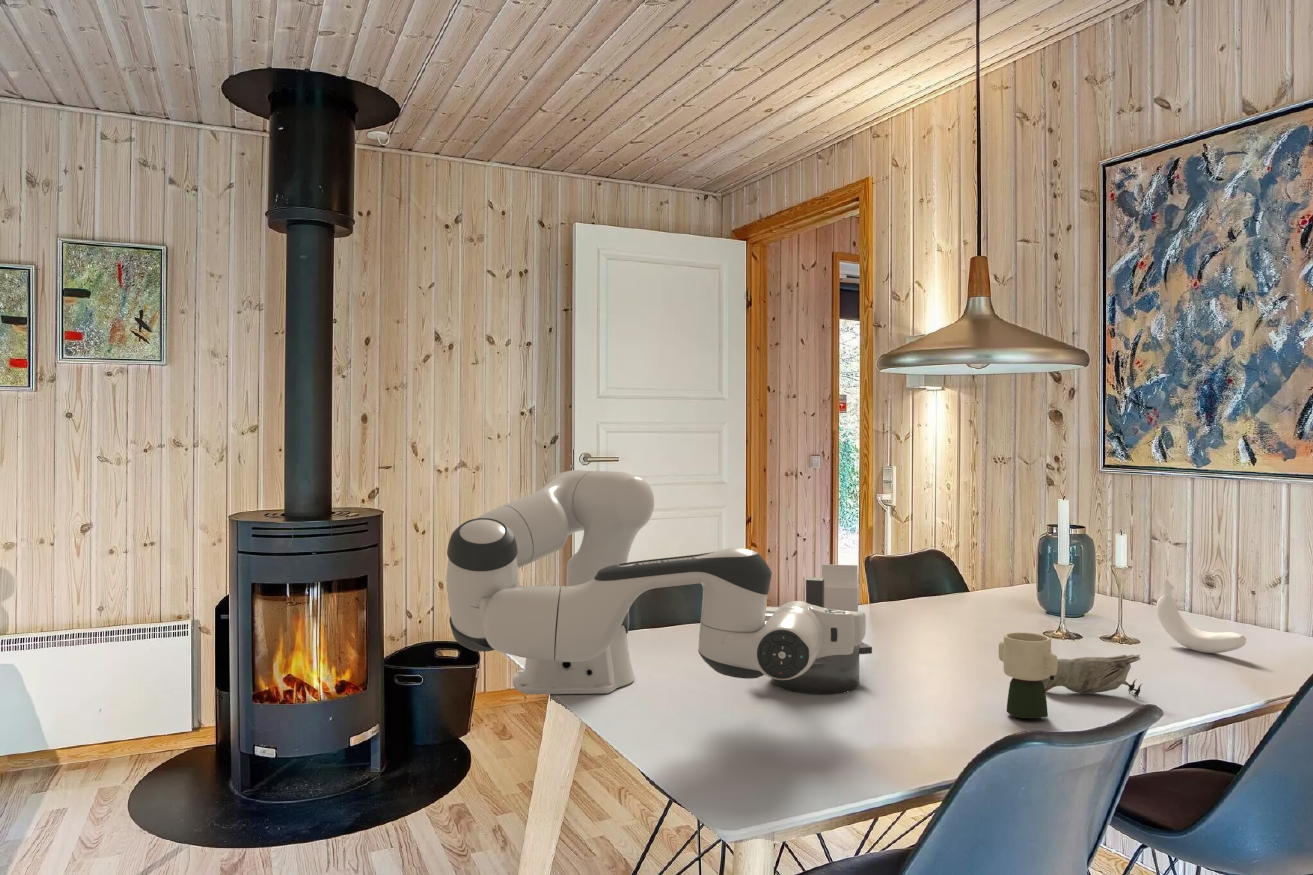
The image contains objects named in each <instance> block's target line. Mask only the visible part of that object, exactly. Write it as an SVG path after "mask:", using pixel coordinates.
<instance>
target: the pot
mask: <svg viewBox="0 0 1313 875" xmlns="http://www.w3.org/2000/svg"><path fill="white" fill-rule="evenodd" d="M869 654H870V655H871V654H873V647H872V646H871V645H869V644H868V643H865V642H864V641H862V642H861V643H860V644H859V645H857V646H854V649H853V653H852V654H849V655H835V656H824V657H820V658H816V660H815V661H814V663H813V664H812V666H811V667H810V668H809V669H808V670H807V671H806V672H805V673H804V674H802V675H800V676H798V677H796V678H793V679H789V680H778V679H773V678H770V679H771V683H772V684H773V686H776V687H778V688H779V689H782V690H786V691H789V692H792V693H798V694H806V695H820V696H821V695H822V696H823V695H837V694H838V695H839V694H845V693H844V692H846V693H848V692H847V691H850V692H852V691H855V690H856V688H857V687H858V686H859V687H860V655H869ZM859 687H858V688H859ZM858 688H857V689H858Z"/></svg>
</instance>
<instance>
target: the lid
mask: <svg viewBox="0 0 1313 875" xmlns="http://www.w3.org/2000/svg"><path fill="white" fill-rule="evenodd" d="M805 602H806V603H808V604H810V605H816V606H819V607H822V608H824V578H822V577H811V576H810V577H809V576H808V577H807V578H806V580H805Z"/></svg>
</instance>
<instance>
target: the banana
mask: <svg viewBox="0 0 1313 875" xmlns="http://www.w3.org/2000/svg"><path fill="white" fill-rule="evenodd" d="M1164 578H1165V579H1164V584H1163V586H1164V592H1163V595H1162V596H1161V597H1159V599H1158V600H1157V602H1156V614H1157V616H1158V620H1159V622H1160V624H1161V626H1162V628H1163V629H1164V631H1165V632H1166V633H1167V634H1168V635H1169V636H1170V637H1171V638H1172V639H1173V640H1174V641H1176V642H1177V643H1178V644H1180V645H1181V646H1183V647H1185V648H1186V649H1187V648H1188V649H1190V650H1192V651H1194V652H1199V653H1203V654H1204V653H1205V654H1220V653H1227V652H1233V651H1236V650H1238V649H1240V648H1242V647H1244V646H1245V645H1246V643H1247V638H1246V637H1245V635H1243V634H1240V633H1237V632H1231V631H1228V632H1227V631H1223V632H1222V631H1221V632H1211V631H1204V630H1201V629H1198V628H1196V627H1194V626H1191V624H1189V623H1188V622H1187V621H1186V620H1185V619H1184V618H1183V617H1182V615H1181V614H1180V612H1179V610H1178V607H1177V605H1176V602H1175V598H1174V596H1173V594H1174V589H1175V587H1174V585H1173V584H1172V583H1171V582H1170V581H1169V580H1168V578H1166V577H1164Z"/></svg>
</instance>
